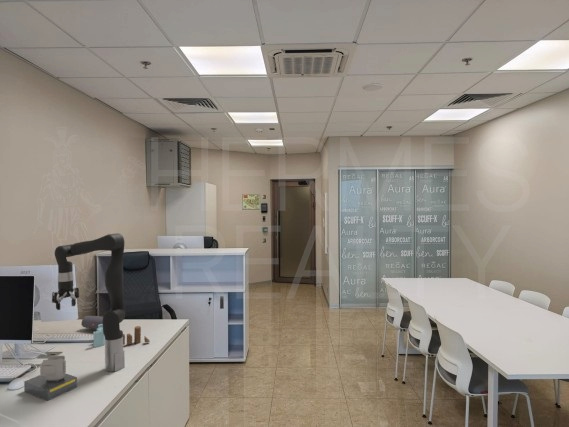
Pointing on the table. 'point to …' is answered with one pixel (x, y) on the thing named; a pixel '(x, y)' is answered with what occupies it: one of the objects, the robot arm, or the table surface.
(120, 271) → the robot arm
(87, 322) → the bluetooth speaker
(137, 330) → the wooden block set
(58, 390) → the block
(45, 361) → the cable organizer
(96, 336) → the squiggly pen holder
